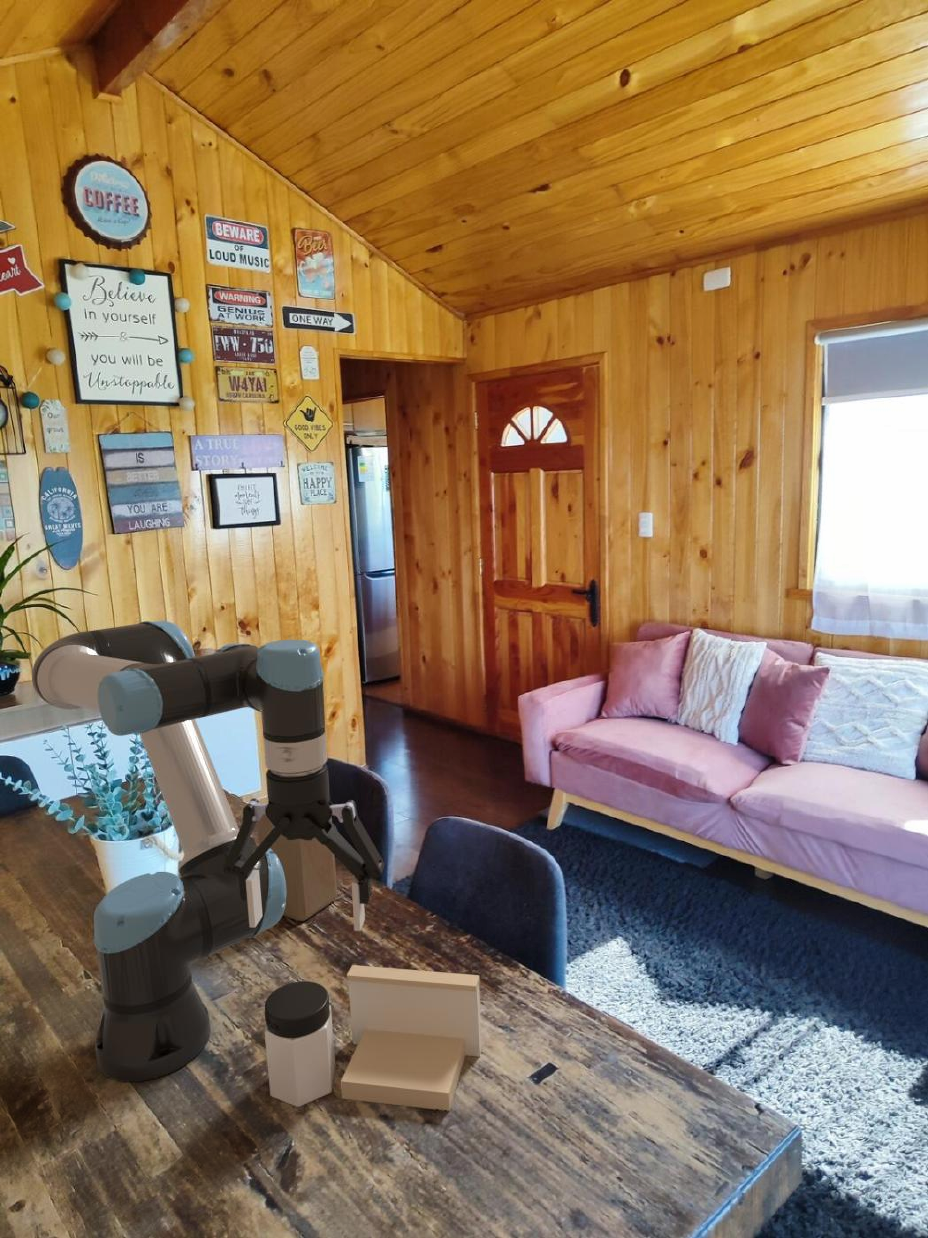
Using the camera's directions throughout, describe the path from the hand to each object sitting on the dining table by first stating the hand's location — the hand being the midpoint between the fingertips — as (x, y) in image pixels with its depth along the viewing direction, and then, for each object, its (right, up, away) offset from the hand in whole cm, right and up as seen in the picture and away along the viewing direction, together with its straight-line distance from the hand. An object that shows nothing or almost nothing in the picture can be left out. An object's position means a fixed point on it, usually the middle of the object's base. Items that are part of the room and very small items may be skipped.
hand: (307, 923), depth 105 cm
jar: (-1, -22, +2) cm, 22 cm away
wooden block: (-10, -14, +47) cm, 51 cm away
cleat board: (+13, -21, +4) cm, 25 cm away
